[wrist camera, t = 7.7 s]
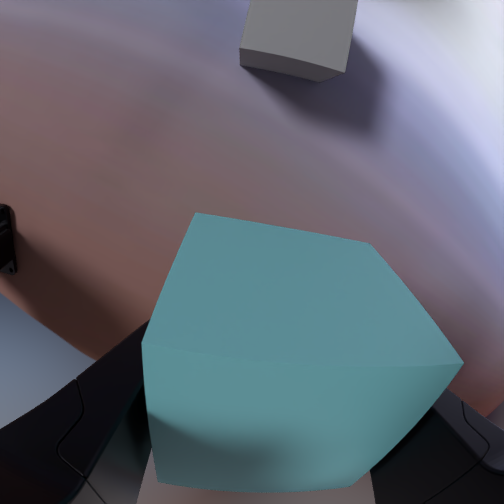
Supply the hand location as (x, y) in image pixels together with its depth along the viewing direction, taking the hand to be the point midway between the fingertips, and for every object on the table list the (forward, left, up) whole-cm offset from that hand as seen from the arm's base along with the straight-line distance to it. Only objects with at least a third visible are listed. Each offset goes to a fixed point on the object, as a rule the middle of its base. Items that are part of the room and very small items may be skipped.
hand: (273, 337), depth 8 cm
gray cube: (0, +11, -13) cm, 17 cm away
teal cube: (0, 0, -2) cm, 2 cm away
